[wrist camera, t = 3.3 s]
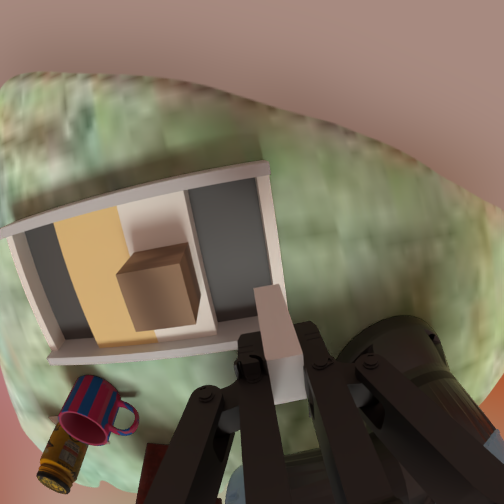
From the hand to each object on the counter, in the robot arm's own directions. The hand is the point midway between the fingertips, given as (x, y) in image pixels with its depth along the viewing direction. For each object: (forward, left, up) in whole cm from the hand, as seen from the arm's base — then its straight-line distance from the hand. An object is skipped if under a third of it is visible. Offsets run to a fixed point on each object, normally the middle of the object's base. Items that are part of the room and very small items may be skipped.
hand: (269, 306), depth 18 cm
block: (+8, 0, -9) cm, 12 cm away
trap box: (+11, 0, -12) cm, 16 cm away
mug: (+22, +17, -12) cm, 30 cm away
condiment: (+32, +25, -12) cm, 42 cm away
